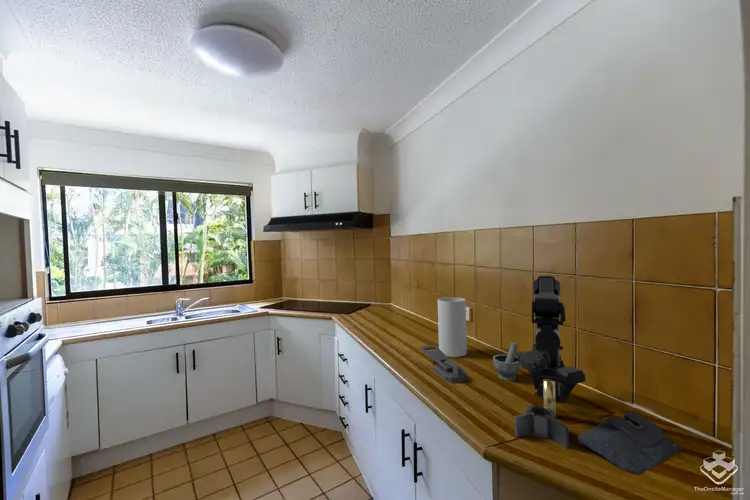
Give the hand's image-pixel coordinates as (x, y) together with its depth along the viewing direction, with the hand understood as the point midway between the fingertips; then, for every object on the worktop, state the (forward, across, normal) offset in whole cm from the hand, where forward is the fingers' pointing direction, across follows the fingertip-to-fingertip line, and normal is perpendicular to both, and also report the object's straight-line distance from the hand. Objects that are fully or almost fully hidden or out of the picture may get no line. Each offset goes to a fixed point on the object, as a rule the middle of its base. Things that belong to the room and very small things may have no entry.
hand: (549, 395), depth 92 cm
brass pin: (+6, 0, 0) cm, 6 cm away
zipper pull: (+6, -41, -12) cm, 43 cm away
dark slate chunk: (+6, +16, +6) cm, 19 cm away
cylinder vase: (+6, -58, +3) cm, 58 cm away
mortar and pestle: (+6, -27, +8) cm, 29 cm away
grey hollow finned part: (+6, +7, -10) cm, 14 cm away
